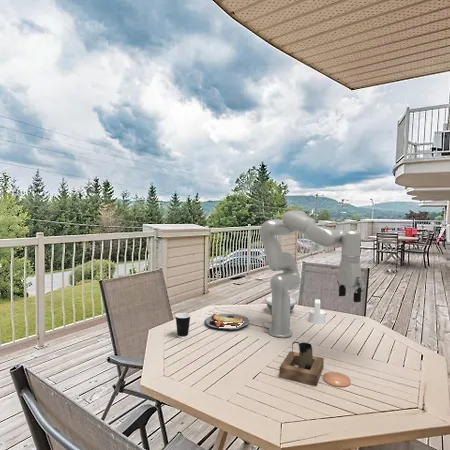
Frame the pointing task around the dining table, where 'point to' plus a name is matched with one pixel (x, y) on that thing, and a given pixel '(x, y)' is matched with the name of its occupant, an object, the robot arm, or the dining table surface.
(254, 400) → the dining table surface
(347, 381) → the peach smooth round part
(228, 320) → the food plate
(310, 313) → the cylinder with rectangular tab
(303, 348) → the mug
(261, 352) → the dining table surface
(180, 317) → the dixie cup
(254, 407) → the dining table surface
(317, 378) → the frame
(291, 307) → the bowl
